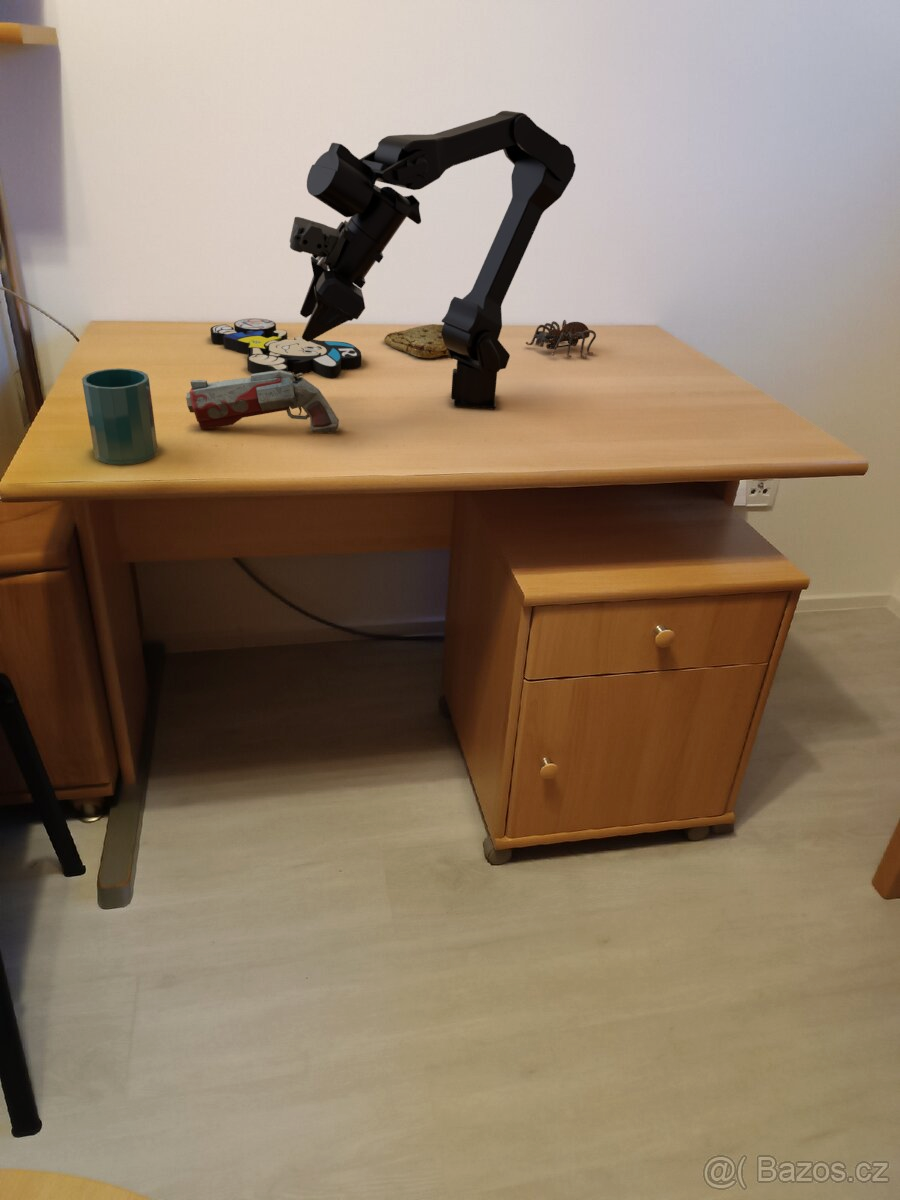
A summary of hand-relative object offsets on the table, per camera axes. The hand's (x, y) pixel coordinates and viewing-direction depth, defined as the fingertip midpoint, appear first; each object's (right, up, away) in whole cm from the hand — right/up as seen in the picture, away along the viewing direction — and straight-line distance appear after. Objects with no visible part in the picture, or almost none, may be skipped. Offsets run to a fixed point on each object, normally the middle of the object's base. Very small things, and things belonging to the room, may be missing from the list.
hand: (303, 327), depth 122 cm
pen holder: (-22, -19, -7) cm, 30 cm away
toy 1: (-10, +5, +33) cm, 35 cm away
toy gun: (-6, -14, +3) cm, 15 cm away
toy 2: (+42, +9, +45) cm, 62 cm away
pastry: (+17, +9, +42) cm, 46 cm away
